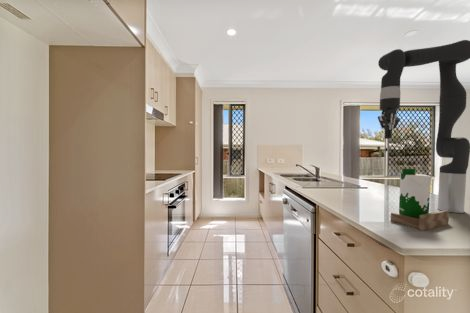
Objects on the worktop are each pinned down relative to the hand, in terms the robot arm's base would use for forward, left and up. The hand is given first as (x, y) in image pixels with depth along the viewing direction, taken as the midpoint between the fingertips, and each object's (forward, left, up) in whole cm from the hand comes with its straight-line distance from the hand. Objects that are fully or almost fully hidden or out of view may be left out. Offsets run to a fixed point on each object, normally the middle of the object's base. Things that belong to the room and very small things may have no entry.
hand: (388, 138), depth 110 cm
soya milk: (+6, +14, -32) cm, 36 cm away
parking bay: (+6, +15, -32) cm, 36 cm away
